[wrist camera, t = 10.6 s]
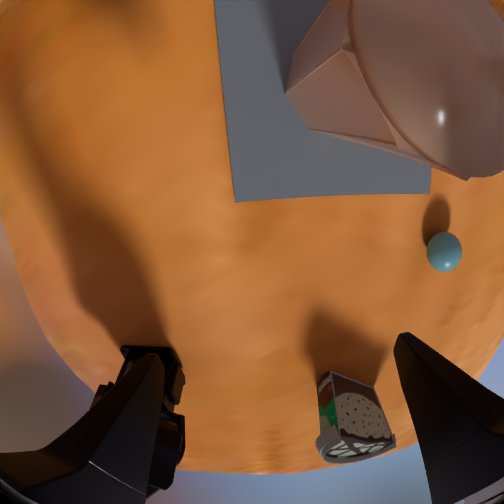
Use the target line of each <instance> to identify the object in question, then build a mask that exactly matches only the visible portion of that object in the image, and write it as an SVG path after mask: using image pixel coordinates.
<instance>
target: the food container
mask: <svg viewBox="0 0 504 504" xmlns="http://www.w3.org/2000/svg"><path fill="white" fill-rule="evenodd" d="M317 394H318V406H319V419H320V435H319V436H318V438H317V439H316V442H315V444H316V447H317V450H318V452H319V454H320V456H321V457H322V458H323V460H324V461H325V462H328V463H334V464H342V463H351V462H357V461H361V460H365V459H368V458H372V457H375V456H377V455H380V454H382V453H385V452H387V451H389V450H391V449H393V448H395V447H397V446H396V439H395V434H393V435H392V432H391V429H390V427H389V424H388V422H387V419H386V416H385V414H384V411H383V409H382V406H381V404H380V401H379V399H378V396H377V394H376V392H375V389H374V387H372V386H369V385H367V384H364V383H361V382H359V381H356V380H354V379H351V378H348V377H346V376H343V375H341V374H338V373H336V372H333V371H331V370H329V371H328V372H327V373H326V374H325V375H323V377H322V378H321V380H320V381H319V382H318V387H317Z"/></svg>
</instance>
